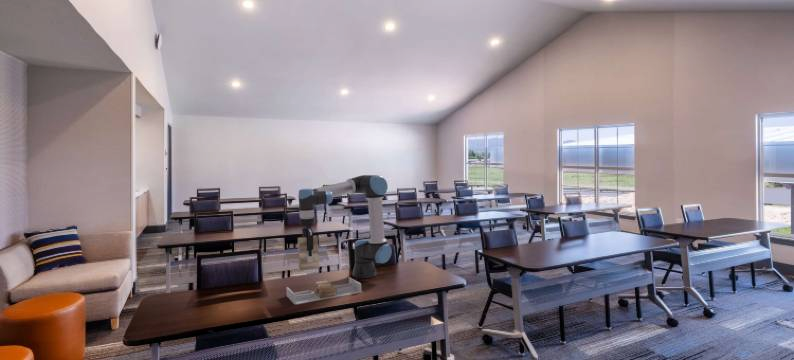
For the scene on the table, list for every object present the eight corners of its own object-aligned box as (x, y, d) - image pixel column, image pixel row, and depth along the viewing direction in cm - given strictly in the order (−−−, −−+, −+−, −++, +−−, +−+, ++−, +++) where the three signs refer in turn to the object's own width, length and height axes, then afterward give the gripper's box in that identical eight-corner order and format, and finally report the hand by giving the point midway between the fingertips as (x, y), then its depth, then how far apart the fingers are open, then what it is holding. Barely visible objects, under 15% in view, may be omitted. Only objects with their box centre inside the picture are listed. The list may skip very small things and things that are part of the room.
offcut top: (315, 285, 238) (315, 281, 238) (327, 283, 241) (327, 280, 241) (319, 289, 230) (319, 286, 230) (331, 288, 232) (330, 284, 232)
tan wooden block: (298, 269, 230) (297, 237, 229) (317, 266, 235) (315, 235, 234) (300, 270, 227) (299, 238, 226) (319, 267, 232) (317, 236, 231)
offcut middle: (315, 289, 237) (314, 286, 237) (327, 287, 241) (327, 283, 241) (322, 294, 228) (322, 290, 228) (335, 292, 232) (335, 288, 232)
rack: (286, 298, 234) (286, 287, 233) (350, 287, 251) (350, 277, 251) (294, 306, 220) (294, 295, 219) (361, 294, 237) (361, 283, 237)
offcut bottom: (313, 292, 239) (313, 289, 239) (327, 290, 242) (327, 286, 242) (320, 298, 228) (320, 294, 228) (335, 295, 232) (335, 292, 232)
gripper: (295, 216, 235) (297, 259, 236) (304, 220, 220) (306, 265, 222) (309, 215, 238) (311, 257, 240) (318, 218, 224) (320, 263, 225)
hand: (308, 261), depth 231 cm, fingers closed on tan wooden block, 3 cm apart
